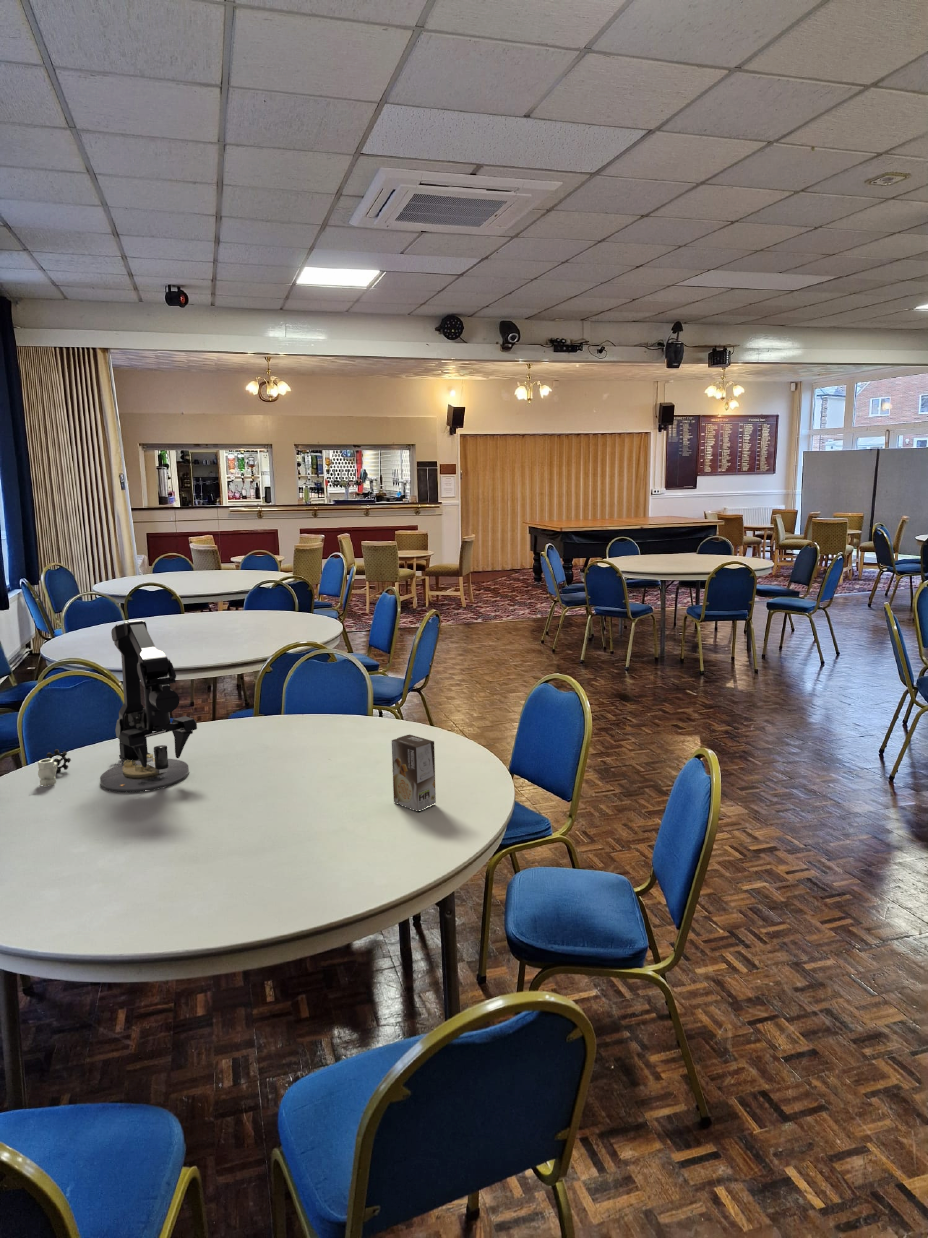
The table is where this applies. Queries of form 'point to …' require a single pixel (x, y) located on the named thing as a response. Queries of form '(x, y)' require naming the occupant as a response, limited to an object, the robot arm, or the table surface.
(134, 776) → the cheese board
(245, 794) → the table surface
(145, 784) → the base plate
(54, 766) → the valve
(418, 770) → the coffee box
